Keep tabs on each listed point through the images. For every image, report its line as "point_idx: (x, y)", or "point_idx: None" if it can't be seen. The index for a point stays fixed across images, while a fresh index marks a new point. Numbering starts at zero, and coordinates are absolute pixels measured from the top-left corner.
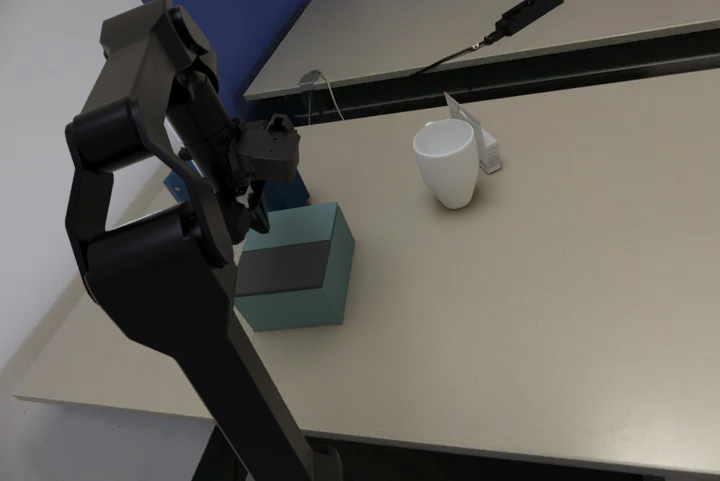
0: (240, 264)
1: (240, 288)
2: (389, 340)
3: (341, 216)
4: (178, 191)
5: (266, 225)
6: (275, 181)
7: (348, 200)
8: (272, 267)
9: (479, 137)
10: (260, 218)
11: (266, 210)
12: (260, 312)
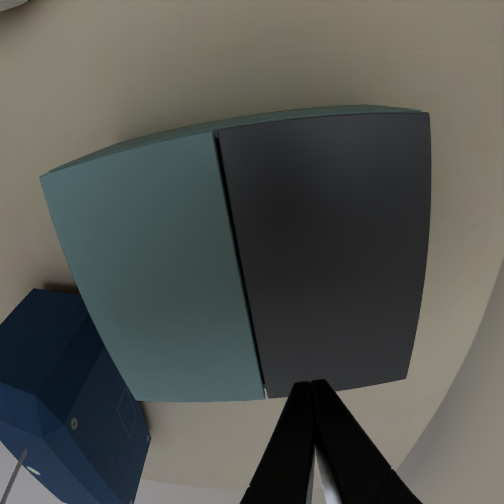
0: None
1: (396, 359)
2: (395, 4)
3: (79, 159)
4: (132, 499)
5: (332, 411)
6: (38, 380)
7: (23, 205)
8: (339, 306)
9: None
10: (393, 473)
11: (272, 458)
12: None
